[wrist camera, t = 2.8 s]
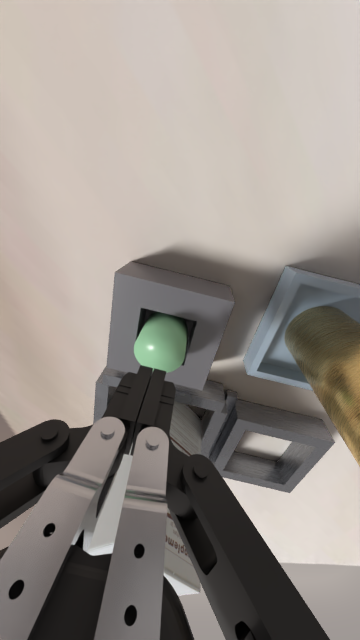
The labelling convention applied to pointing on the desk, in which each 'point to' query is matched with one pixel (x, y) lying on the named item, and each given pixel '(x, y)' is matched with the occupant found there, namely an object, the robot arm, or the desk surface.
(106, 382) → the gray compartment tray
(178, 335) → the button
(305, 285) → the tote tray
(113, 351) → the grey square socket block
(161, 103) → the desk surface
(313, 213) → the desk surface
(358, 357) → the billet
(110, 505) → the supplement box
